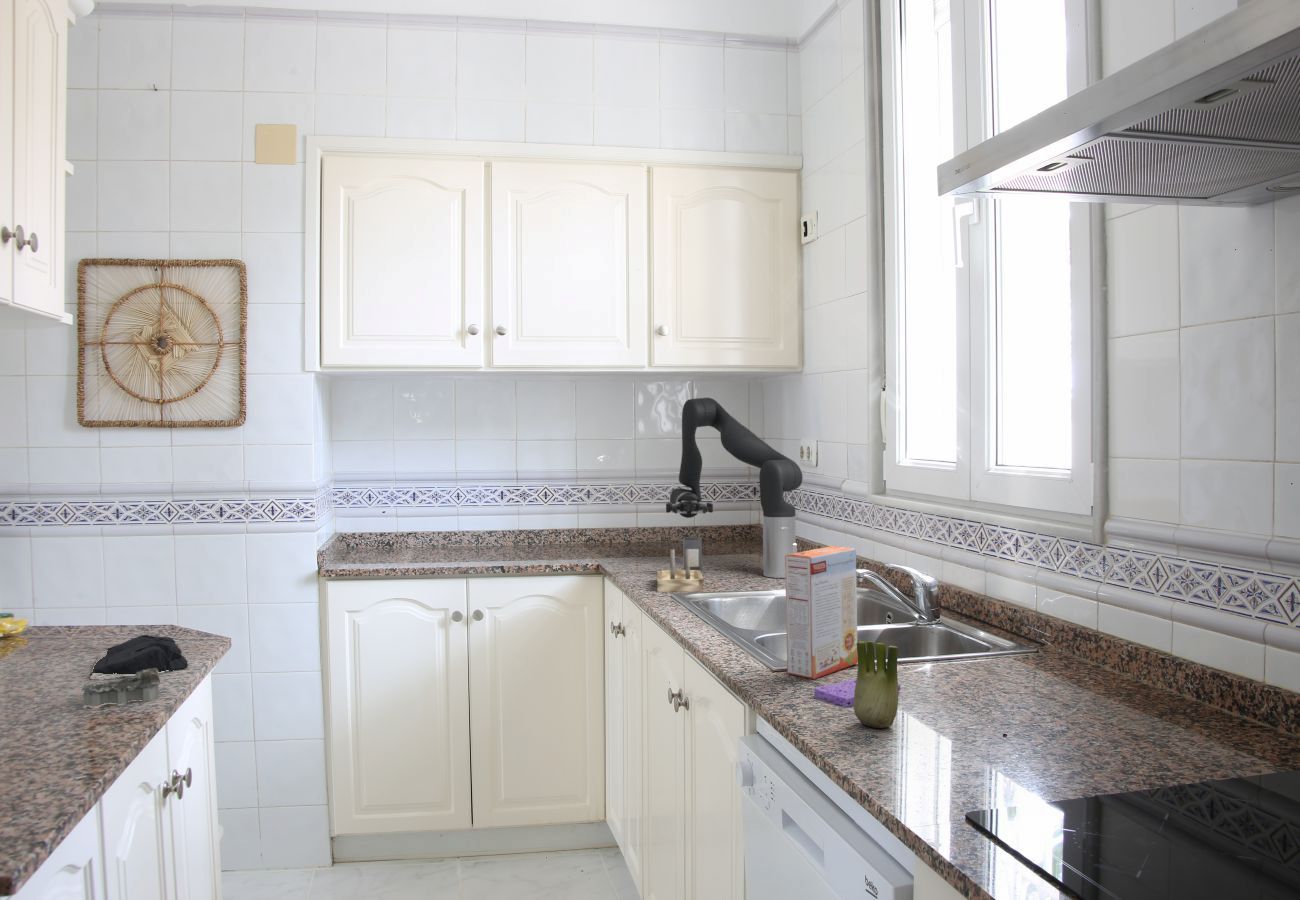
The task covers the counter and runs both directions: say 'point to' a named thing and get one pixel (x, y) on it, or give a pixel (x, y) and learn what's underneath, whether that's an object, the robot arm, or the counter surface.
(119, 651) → the dark slate chunk
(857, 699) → the fennel bulb
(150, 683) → the egg carton
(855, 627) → the cracker box
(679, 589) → the wooden rack with posts
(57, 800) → the counter surface
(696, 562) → the block
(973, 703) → the counter surface
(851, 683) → the sponges
